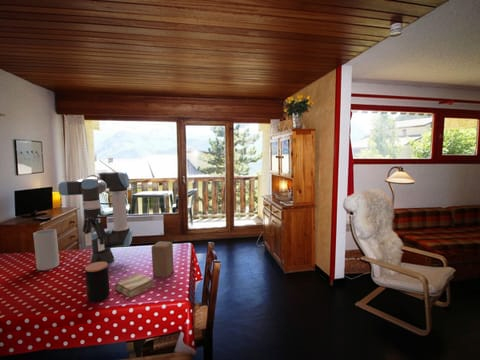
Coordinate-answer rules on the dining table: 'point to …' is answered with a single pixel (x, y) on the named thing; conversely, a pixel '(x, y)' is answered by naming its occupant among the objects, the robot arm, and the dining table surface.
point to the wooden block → (162, 259)
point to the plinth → (134, 285)
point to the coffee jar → (97, 281)
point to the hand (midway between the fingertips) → (95, 247)
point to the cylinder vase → (46, 249)
